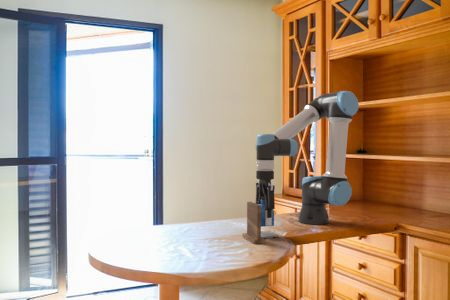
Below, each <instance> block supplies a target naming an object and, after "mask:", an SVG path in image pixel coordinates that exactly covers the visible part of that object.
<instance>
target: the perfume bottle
mask: <svg viewBox="0 0 450 300" xmlns="http://www.w3.org/2000/svg"><path fill="white" fill-rule="evenodd" d="M258 205H261V228H262V227H266V226H265V209H266V203H265V196H262V197H261V204H258ZM274 210H275V209H273V210H272V225H270V226H269V227H274V226H275V211H274Z"/></svg>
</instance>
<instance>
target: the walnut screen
mask: <svg viewBox="0 0 450 300" xmlns="http://www.w3.org/2000/svg"><path fill="white" fill-rule="evenodd" d="M261 232H262V227H261V205H258V204H256V202H252V201H247V202H246V233H242V236H241V237H242V238H243V239H245V240H246V241H248V242H250V243H252V244H254V245H260V244H259V243H261V244H266V239H267V238H266V239H264V238H262V237H261Z"/></svg>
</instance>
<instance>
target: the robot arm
mask: <svg viewBox="0 0 450 300" xmlns="http://www.w3.org/2000/svg"><path fill="white" fill-rule="evenodd" d="M359 106H360V105H359V100H358V98H357V96H356V95H355V93H353V92H352V91H349V90H340V91H334V92H329V93H328V92H327V93H324V94H321V95H320V96H318V97H316V98H315V99H313V100H312V101H310V102H309V103H308V104H306V105H305V106H304V107H303V110H301V111H300V112H299V113H298V114H297V115H295V116H293V117H292V118H291V119H290V120H288V121H286V123H285V124H283V125H281V126H280V127H279V128H278V129H277V130H275V131H274V132H273V133H259V134H257V135H256V144H255V150H256V162H255V165H256V171H255V173H256V174H255V175H256V180H259V181H258V182H255V203H256V204H261V197H262V196H265V203H266V209H265V226H264V227H271V226H270V225H272V210H275V209H276V208H275V207H276V206H275V185H273V184H272V181H271V180H274V179H275V171H274V170H275V157H293V156H296V154H297V153H298V150H299V145H298V142H297V140H295V139H294V137H296V136H297V135H298V134H299V133H301V132H302V131H304V129H306V128H307V127H309V126H310V125H311V124H313V123H317V122H319V120H322V119H326V120H327V121H328V122H329V130H328V131H329V132H328V142H327V151H326V153H327V155H326V164H325V172H324V173H323V174H322V175H319V176H318V175H316V176H315V175H314V176H305V177H303V178H302V181H301V208H300V211H299V215H298V218H297V220H298V222H299V223H301V224H306V225H327V224H329V223H330V218H329V214H328V211H327V207H326V204H327V205H331V206H337V207H338V206H340V207H341V206H344V205H346V204H347V203H348V202H349V201H350V199H351V197H352V195H353V188H352V186H351V183H349V182H348V177H347V175H346V174H345V172H346V157H347V144H348V133H349V131H348V130H349V125H350V123H351V122H352V121H353V116H354V115H356V114H357V112H358V111H359Z"/></svg>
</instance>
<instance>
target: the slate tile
mask: <svg viewBox="0 0 450 300" xmlns="http://www.w3.org/2000/svg"><path fill="white" fill-rule="evenodd" d="M261 237H262V238H266V239H274V238H273V237H278V238H280V235H279V234H277V233H275V232H272V231H271V230H265V231H261Z"/></svg>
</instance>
